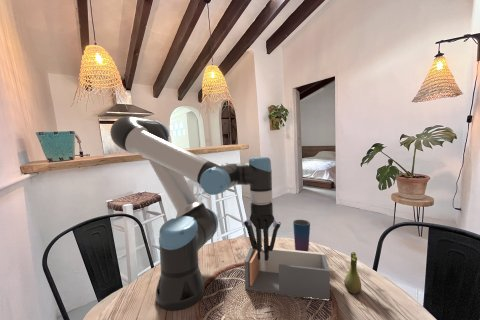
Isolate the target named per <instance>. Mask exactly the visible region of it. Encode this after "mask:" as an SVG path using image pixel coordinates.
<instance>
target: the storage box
mask: <svg viewBox="0 0 480 320" xmlns="http://www.w3.org/2000/svg"><path fill="white" fill-rule="evenodd" d="M262 248H263V249H264V246H262ZM255 252H256V249H253V248H252V246H250V247H249V250H248V253H247V255H246V257H245V260H244V290H245V289H247V290H248V291H252V290H255V291H254V292H259V291H262V292H261V293H266V292H269V293H268V294H273V293H275V295H281V296H288V297H295V298H301V297H312V298H319V299H331V298H330V297H331V296H330V295H331V293H330V292H331V291H330V290H331V286H330V285H331V271H330V267H329V264H328V261H327V257H326V254H325V252H319V251H317V252H316V251H309V250H308V251H297V250H295V249H285V248H277V247H276V248H275V247H274V248H273V250H272V251H269V258H268V261H266V269H265V271H262V270H261V261H260V260H259V272H258V275H257V277H256V279H255V281H254V283H253V285H252V286H250V269H249V262H250V260H251V259H252V257H253V255H254V253H255Z"/></svg>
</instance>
